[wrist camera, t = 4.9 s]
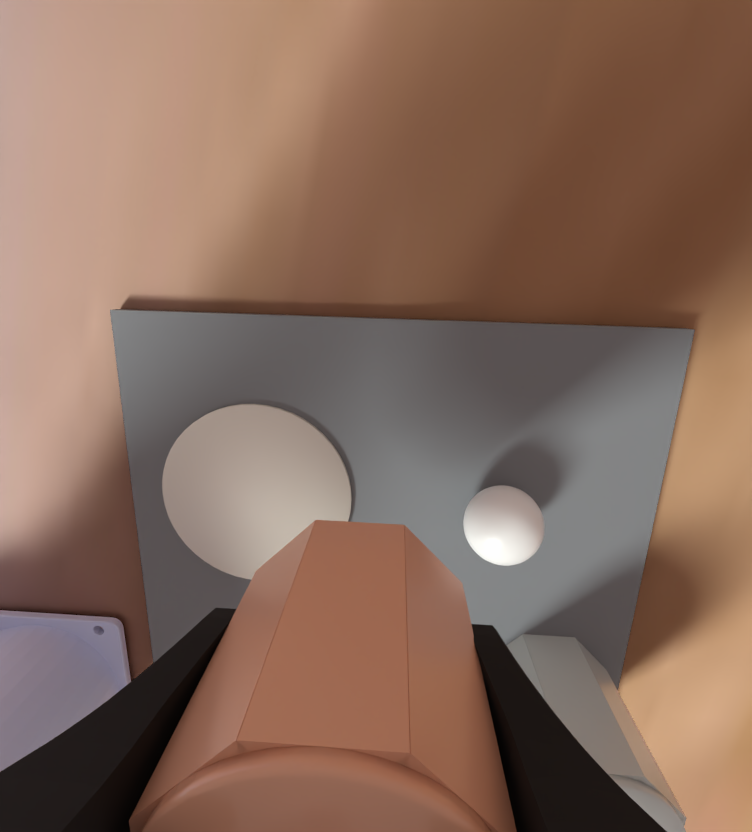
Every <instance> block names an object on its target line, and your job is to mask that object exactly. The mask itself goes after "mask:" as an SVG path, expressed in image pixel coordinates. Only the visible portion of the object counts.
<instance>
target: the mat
mask: <svg viewBox="0 0 752 832" xmlns="http://www.w3.org/2000/svg"><path fill="white" fill-rule="evenodd" d="M110 314H111V322H112V330H113V338H114V346H115V354H116V363H117V371H118V379H119V387H120V395H121V403H122V411H123V419H124V428H125V436H126V444H127V452H128V460H129V468H130V476H131V484H132V493H133V501H134V509H135V517H136V525H137V533H138V541H139V549H140V558H141V566H142V574H143V582H144V590H145V598H146V606H147V615H148V623H149V631H150V639H151V647H152V655H153V663H154V662H155V661H156V660H157V659H159V658H160V657H161V656H162V655H163V654H164V653H166V652H167V651H168V650H169V649H170V648H171V647H172V646H174V645H175V644H176V643H177V642H178V641H179V640H180V639H181V638H182V637H183V636H185V635H186V634H187V633H188V632H189V631H190V630H191V629H192V628H193V627H194V626H196V625H197V624H198V623H199V622H200V621H201V620H202V619H203V618H204V617H206V616H207V615H208V614H209V613H210V612H211V611H212V610H214V609H215V608H230V609H237V607H238V605H239V603H240V601H241V599H242V597H243V595H244V593H245V591H246V589H247V588H248V586H249V584H250V582H251V580H250V579H245V578H241V577H236V576H233V575H231V574H228V573H225V572H223V571H221V570H219V569H217V568H215V567H213V566H211V565H210V564H208V563H207V562H205V561H203V560H202V559H201V558H200V557H198V556H197V555H196V554H195V553H194V552H193V551H192V550H191V549H190V548H189V547H188V546H187V545H186V544H185V543H184V542H183V540H182V539H181V538H180V537H179V535H178V534H177V532H176V530H175V529H174V527H173V525H172V523H171V521H170V519H169V517H168V514H167V511H166V508H165V504H164V499H163V491H162V479H163V470H164V466H165V462H166V459H167V457H168V454H169V452H170V450H171V448H172V446H173V445H174V443H175V441H176V440H177V438H178V437H179V436H180V435H181V434H182V433H183V431H184V430H185V429H187V428H188V427H189V426H190V425H191V424H192V423H194V422H195V421H197V420H198V419H200V418H201V417H203V416H204V415H206V414H208V413H210V412H212V411H215V410H217V409H220V408H223V407H227V406H231V405H237V404H263V405H269V406H273V407H278V408H281V409H284V410H287V411H289V412H292V413H294V414H296V415H298V416H300V417H302V418H304V419H305V420H306V421H308V422H309V423H311V424H312V425H314V426H315V427H316V428H317V429H318V430H320V431H321V432H322V433H323V434H324V435H325V436H326V437H327V438H328V440H329V441H330V442H331V443H332V444H333V446H334V447H335V449H336V450H337V452H338V453H339V455H340V456H341V458H342V460H343V462H344V464H345V467H346V470H347V473H348V476H349V480H350V485H351V496H352V502H351V512H350V516H349V520H348V522H365V523H382V524H400V525H405V526H406V527H407V528H408V529H409V530H410V531H411V532H412V533H413V534H414V535H415V536H416V537H417V538H418V539H419V540H420V541H421V542H422V543H423V544H424V545H425V546H426V547H427V548H428V549H429V550H430V551H431V552H432V553H433V554H434V555H435V556H436V557H437V558H438V559H439V560H440V561H441V562H442V563H443V564H444V565H445V566H446V567H447V568H448V569H449V570H450V571H451V572H452V573H453V574H454V575H455V576H456V577H457V578H458V579H459V580H460V581H461V582H462V584H463V588H464V593H465V597H466V602H467V607H468V611H469V616H470V620H471V624H481V625H493V626H494V628H495V629H496V630H497V631H498V633H499V635H500V636H501V638H502V639H503V641H504V642H505V644H506V645H508V644H509V643H510V642H512V641H513V640H515V639H516V638H518V637H519V636H521V635H522V634H530V635H546V636H562V637H575V638H576V639H577V640H578V641H579V642H580V643H581V644H582V645H583V646H584V647H585V648H586V649H587V650H588V651H589V652H590V653H591V654H592V655H593V656H594V657H595V658H596V659H597V660H598V661H599V663H600V664H601V665H602V666H603V667H604V668H605V669H606V670H607V672H608V674H609V676H610V677H611V679H612V681H613V683H614V685H615V687H616V689H617V690H618V687H619V682H620V677H621V673H622V668H623V663H624V659H625V654H626V649H627V645H628V640H629V635H630V631H631V626H632V621H633V617H634V612H635V607H636V603H637V598H638V593H639V589H640V584H641V579H642V575H643V570H644V565H645V561H646V556H647V551H648V547H649V542H650V537H651V533H652V528H653V523H654V518H655V514H656V509H657V504H658V500H659V495H660V490H661V486H662V481H663V476H664V472H665V467H666V462H667V458H668V453H669V448H670V444H671V439H672V434H673V430H674V425H675V420H676V416H677V411H678V406H679V402H680V397H681V392H682V388H683V383H684V378H685V374H686V369H687V364H688V359H689V355H690V350H691V345H692V341H693V336H694V331H695V330H694V329H687V328H661V327H632V326H602V325H572V324H543V323H513V322H483V321H454V320H424V319H394V318H365V317H335V316H305V315H276V314H246V313H216V312H187V311H157V310H128V309H115V310H110ZM498 485H505V486H511V487H515V488H517V489H520V490H522V491H523V492H525V493H526V494H528V495H529V496H530V497H531V498H532V499H533V500H534V501H535V502H536V504H537V505H538V507H539V508H540V511H541V513H542V515H543V519H544V527H545V528H544V537H543V540H542V543H541V545H540V547H539V549H538V550H537V551H536V553H535V554H534V555H533V556H531V557H530V558H529V559H528V560H526V561H524V562H522V563H519V564H516V565H510V566H503V565H497V564H493V563H491V562H488V561H486V560H484V559H483V558H481V557H480V556H479V555H478V554H477V553H476V552H475V551H474V550H473V549H472V548H471V546H470V545H469V543H468V541H467V539H466V536H465V533H464V526H463V520H464V513H465V510H466V508H467V506H468V504H469V502H470V501H471V499H472V498H473V497H474V496H475V495H476V494H477V493H479V492H480V491H482V490H484V489H486V488H489V487H492V486H498Z"/></svg>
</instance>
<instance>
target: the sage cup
mask: <svg viewBox="0 0 752 832" xmlns="http://www.w3.org/2000/svg"><path fill="white" fill-rule="evenodd" d="M506 646H507V647H508V649H509V650H510V652H511V653H512V655H513V656H514V658H515V659H516V661H517V662H518V664H519V665H520V666H521V668H522V669H523V671H524V672H525V674H526V675H527V676H528V678H529V679H530V681H531V682H532V683H533V685H534V686H535V687H536V689H537V690H538V691H539V693H540V694H541V696H542V697H543V698H544V700H545V701H546V702H547V704H548V705H549V706H550V707H551V709H552V710H553V711H554V713H555V714H556V715H557V716H558V718H559V719H560V720H561V721H562V723H563V724H564V725H565V726H566V727H567V729H568V730H569V731H570V732H571V733H572V735H573V736H574V737H575V738H576V739H577V741H578V742H579V743H580V744H581V745H582V746H583V748H584V749H585V750H586V751H587V752H588V753H589V754H590V756H591V757H592V758H593V759H594V760H595V761H596V762H597V763H598V764H599V765H600V766H601V767H602V769H603V770H604V771H605V772H606V773H607V774H608V775H609V776H610V777H611V778H612V779H613V780H614V781H615V782H616V783H617V784H618V785H619V786H620V787H621V788H622V789H623V790H624V791H625V792H626V793H627V794H628V795H629V796H630V797H631V798H632V799H633V800H634V801H635V802H636V803H637V804H638V805H639V806H640V807H641V808H642V809H643V810H644V811H645V812H647V813H648V814H649V815H650V816H651V817H652V818H653V819H654V820H655V821H656V822H657V823H658V824H659V825H660V826H661V827H663V828H664V829H665V830H666V831H667V832H686V831H685V828H684V825H685V821H686V816H685V815H684V813H683V811H682V809H681V807H680V805H679V803H678V802H677V800H676V798H675V796H674V794H673V792H672V790H671V789H670V787H669V785H668V783H667V781H666V779H665V778H664V776H663V774H662V772H661V770H660V768H659V766H658V765H657V763H656V761H655V759H654V757H653V755H652V753H651V752H650V750H649V748H648V746H647V744H646V742H645V740H644V739H643V737H642V735H641V733H640V731H639V729H638V727H637V726H636V724H635V722H634V720H633V718H632V716H631V714H630V713H629V711H628V709H627V707H626V705H625V703H624V701H623V700H622V698H621V696H620V694H619V692H618V690H617V689H616V687H615V685H614V683H613V681H612V679H611V677H610V676H609V674H608V672H607V670H606V669H605V668H604V667H603V666H602V665H601V664H600V663H599V661H598V660H597V659H596V658H595V657H594V656H593V655H592V654H591V653H590V652H589V651H588V650H587V649H586V648H585V647H584V646H583V645H582V644H581V643H580V642H579V641H578V640H577V639H576V638H575V637H562V636H546V635H530V634H522V635H521V636H519V637H518V638H516V639H515V640H513V641H512V642H510V643H509V644H508V645H506Z"/></svg>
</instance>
